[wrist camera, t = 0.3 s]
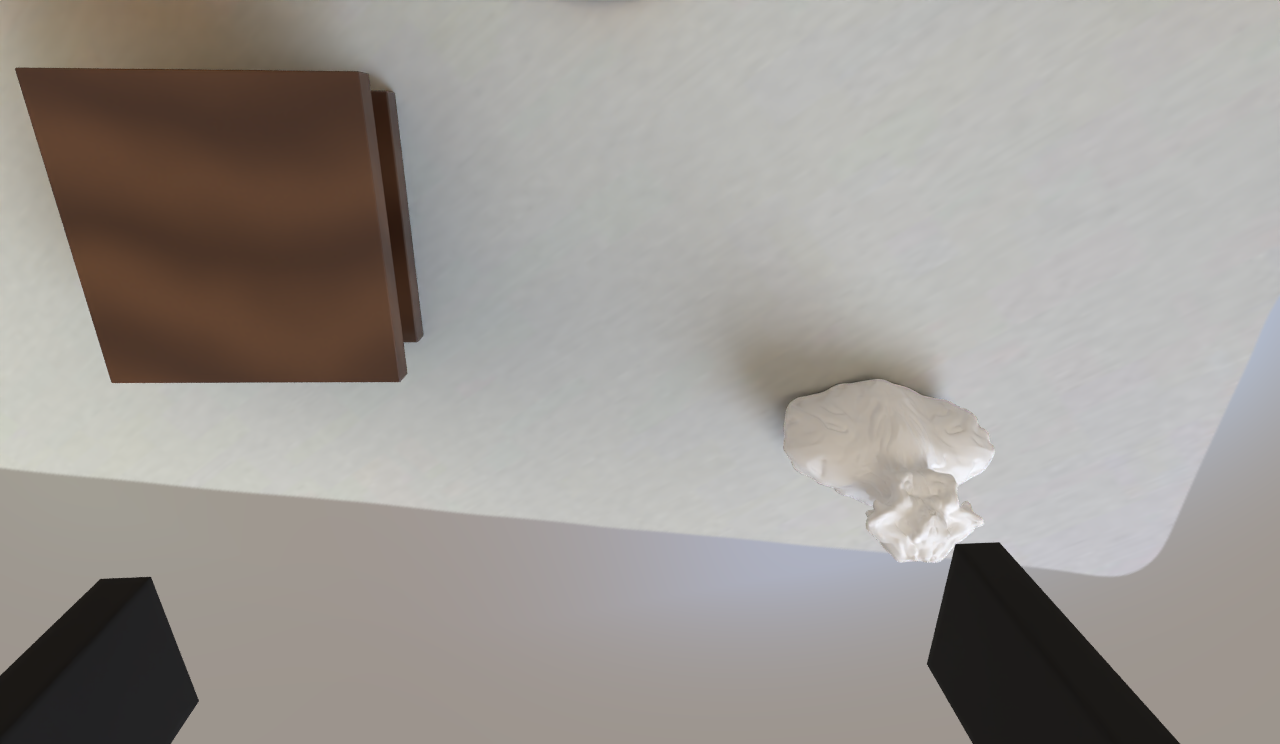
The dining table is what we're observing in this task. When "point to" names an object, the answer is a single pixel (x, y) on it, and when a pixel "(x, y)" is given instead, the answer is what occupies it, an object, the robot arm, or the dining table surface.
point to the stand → (233, 221)
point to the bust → (893, 461)
